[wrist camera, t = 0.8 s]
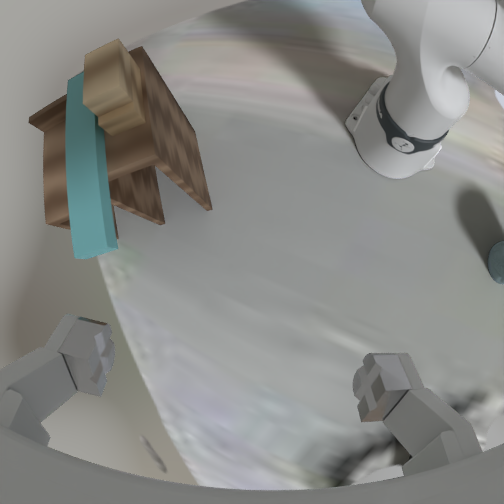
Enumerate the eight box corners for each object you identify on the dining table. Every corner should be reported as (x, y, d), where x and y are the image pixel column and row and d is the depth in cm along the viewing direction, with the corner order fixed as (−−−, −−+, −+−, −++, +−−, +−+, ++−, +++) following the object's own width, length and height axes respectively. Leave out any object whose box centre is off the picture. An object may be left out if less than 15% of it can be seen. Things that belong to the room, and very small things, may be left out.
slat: (118, 248, 28) (107, 246, 26) (86, 259, 28) (74, 258, 26) (102, 74, 30) (94, 65, 28) (76, 87, 30) (68, 80, 28)
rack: (212, 209, 54) (128, 128, 22) (114, 240, 55) (-18, 208, 23) (194, 131, 55) (122, 15, 24) (104, 165, 57) (-5, 95, 25)
